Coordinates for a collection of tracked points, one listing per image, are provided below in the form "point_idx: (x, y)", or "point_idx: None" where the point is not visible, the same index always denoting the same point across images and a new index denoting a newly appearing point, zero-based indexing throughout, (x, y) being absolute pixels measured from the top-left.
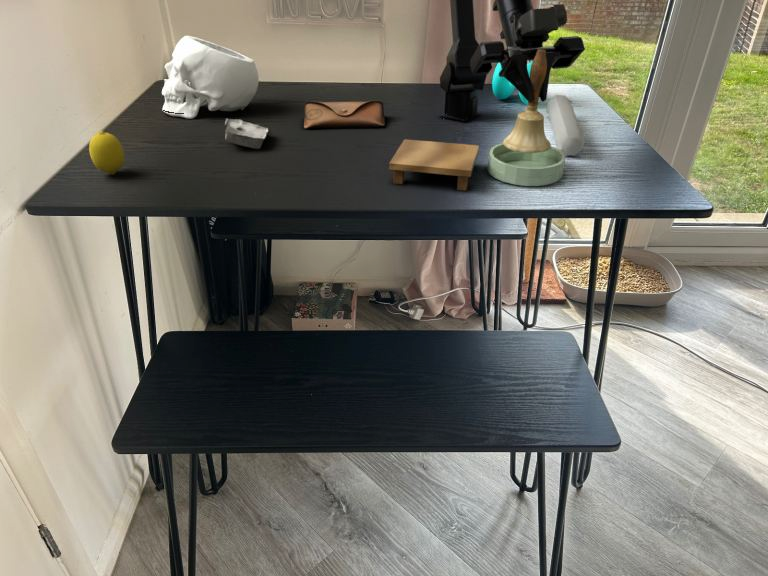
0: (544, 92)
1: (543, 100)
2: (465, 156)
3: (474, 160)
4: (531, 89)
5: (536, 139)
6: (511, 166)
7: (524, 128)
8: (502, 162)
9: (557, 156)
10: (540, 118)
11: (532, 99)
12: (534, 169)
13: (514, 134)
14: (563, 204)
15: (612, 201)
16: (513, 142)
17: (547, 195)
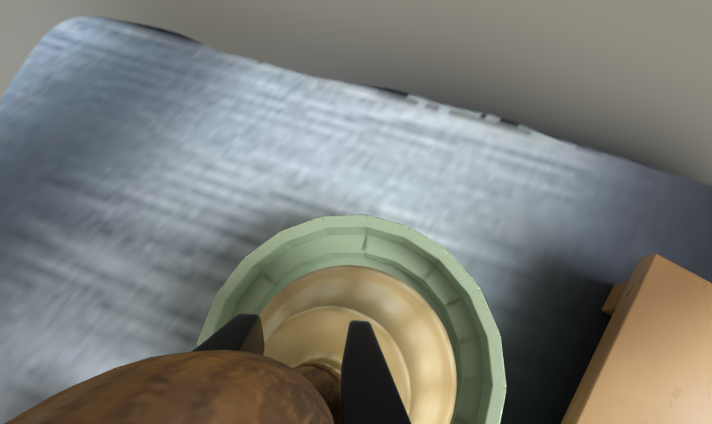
0: (234, 340)
1: (261, 329)
2: (639, 405)
3: (609, 349)
4: (357, 375)
5: (343, 292)
6: (464, 269)
7: (395, 333)
8: (484, 314)
9: None
10: (306, 311)
11: (366, 323)
12: (392, 222)
13: (423, 379)
14: (363, 118)
15: (231, 98)
16: (434, 350)
17: (374, 177)
